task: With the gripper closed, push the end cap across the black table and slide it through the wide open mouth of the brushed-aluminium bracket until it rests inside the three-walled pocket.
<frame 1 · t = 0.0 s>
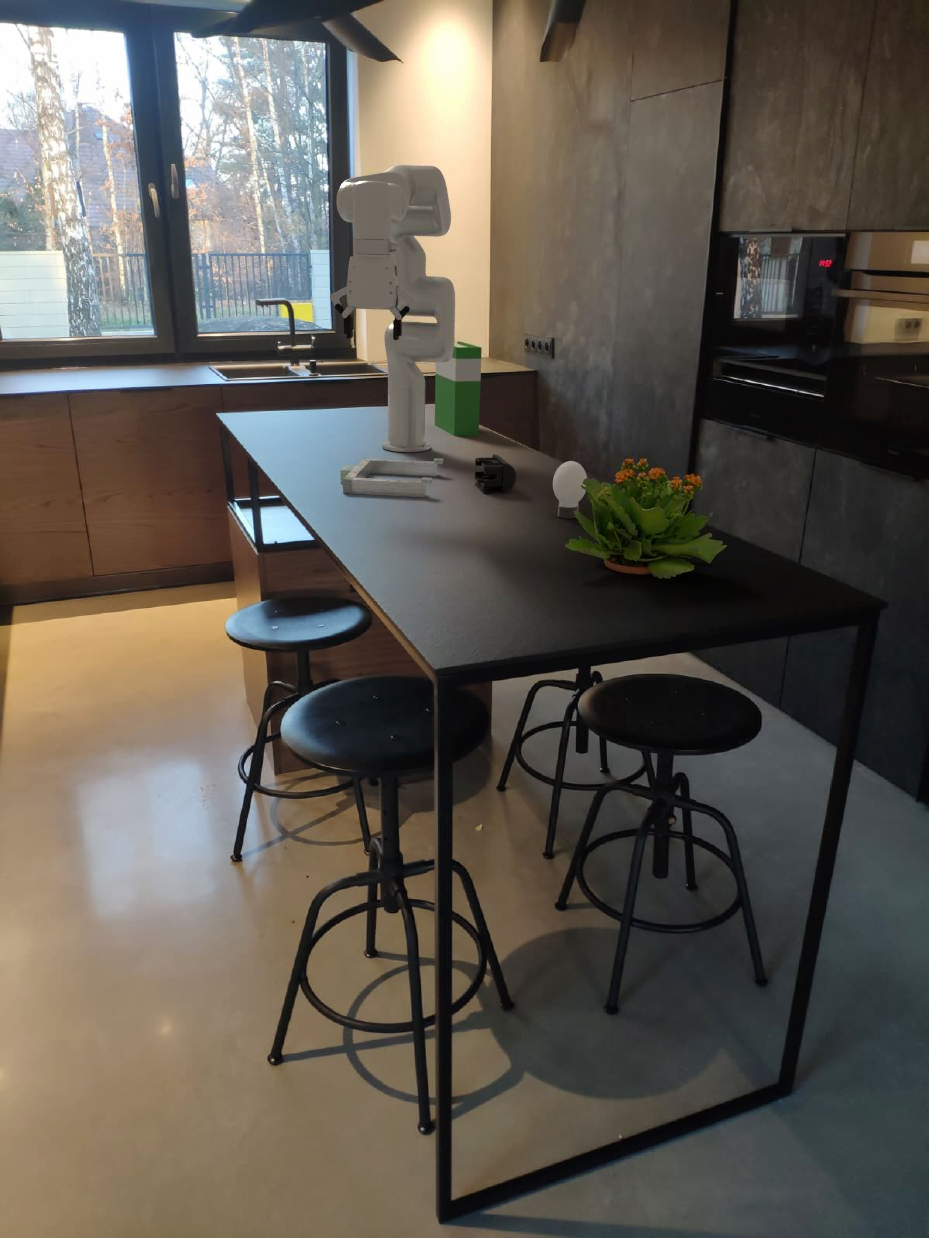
hand: (372, 339, 194), 31 cm above the table, tool pointing down, fingers open, 9 cm apart
light bulb: (567, 517, 188), on the table
end cap: (494, 490, 208), on the table
potted flower: (627, 566, 159), on the table
mounting bracket: (395, 483, 209), on the table
green white box: (456, 430, 274), on the table
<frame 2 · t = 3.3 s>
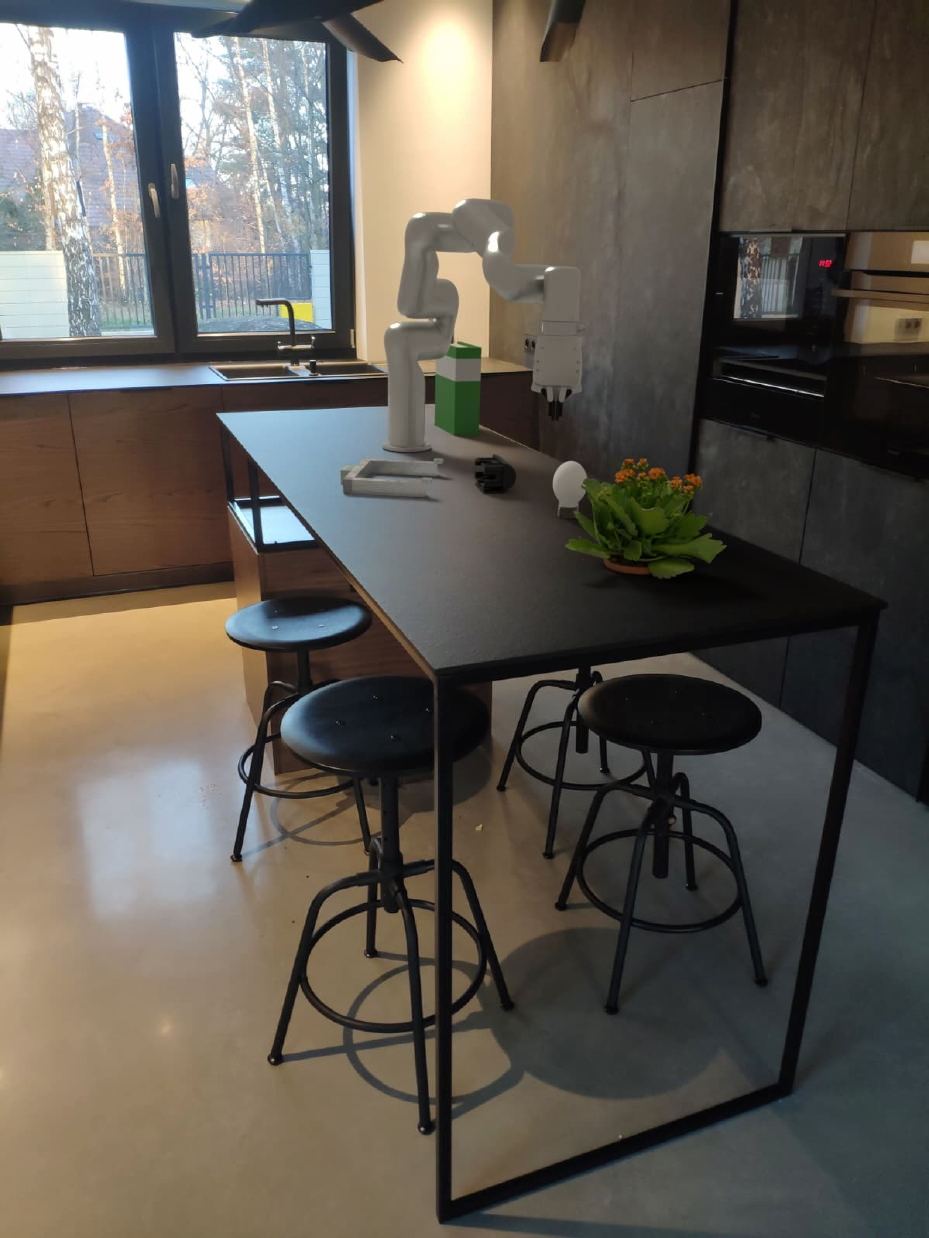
hand: (554, 420, 200), 16 cm above the table, tool pointing down, fingers closed
nothing on the table moved.
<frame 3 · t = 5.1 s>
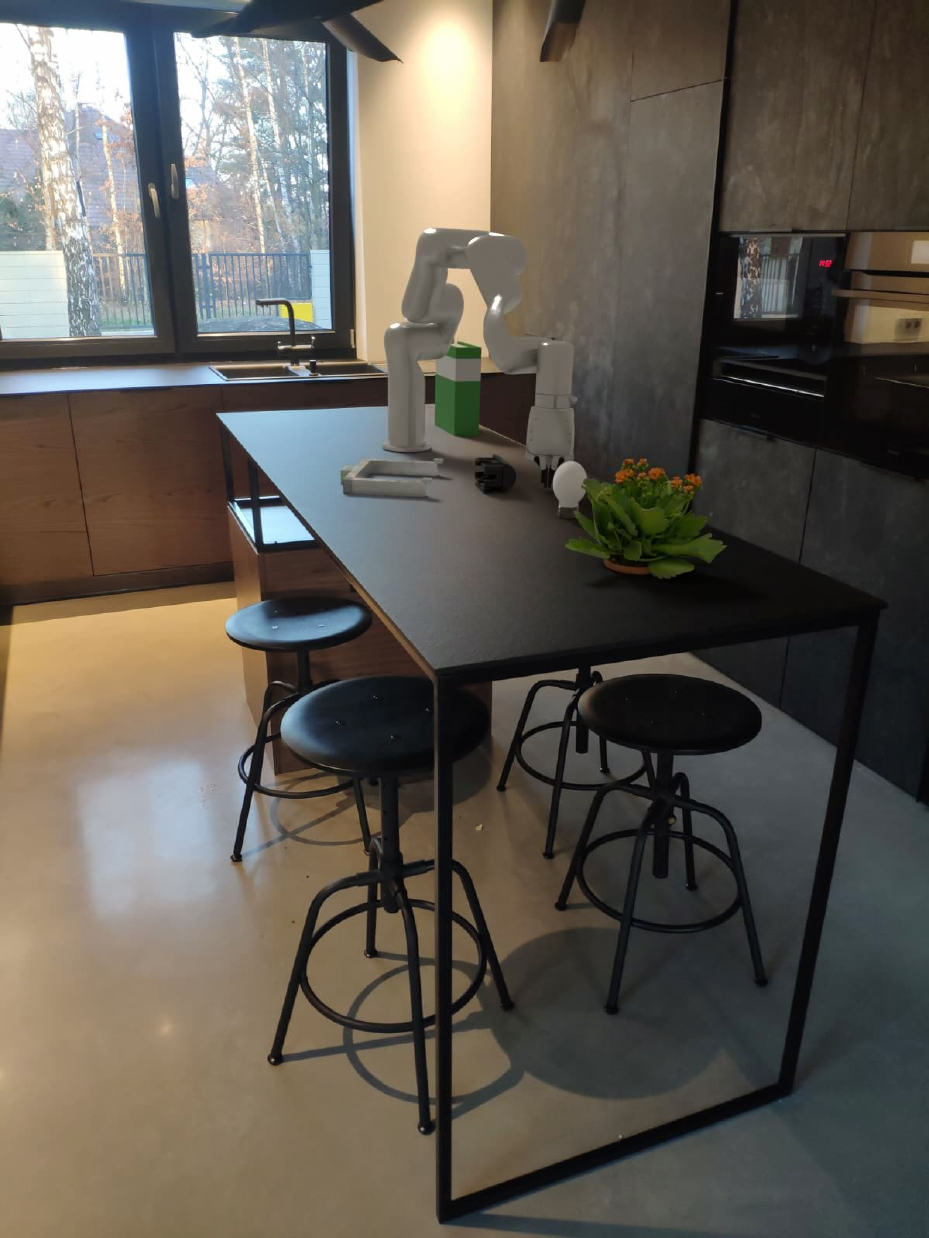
hand: (547, 486, 206), 1 cm above the table, tool pointing down, fingers closed
nothing on the table moved.
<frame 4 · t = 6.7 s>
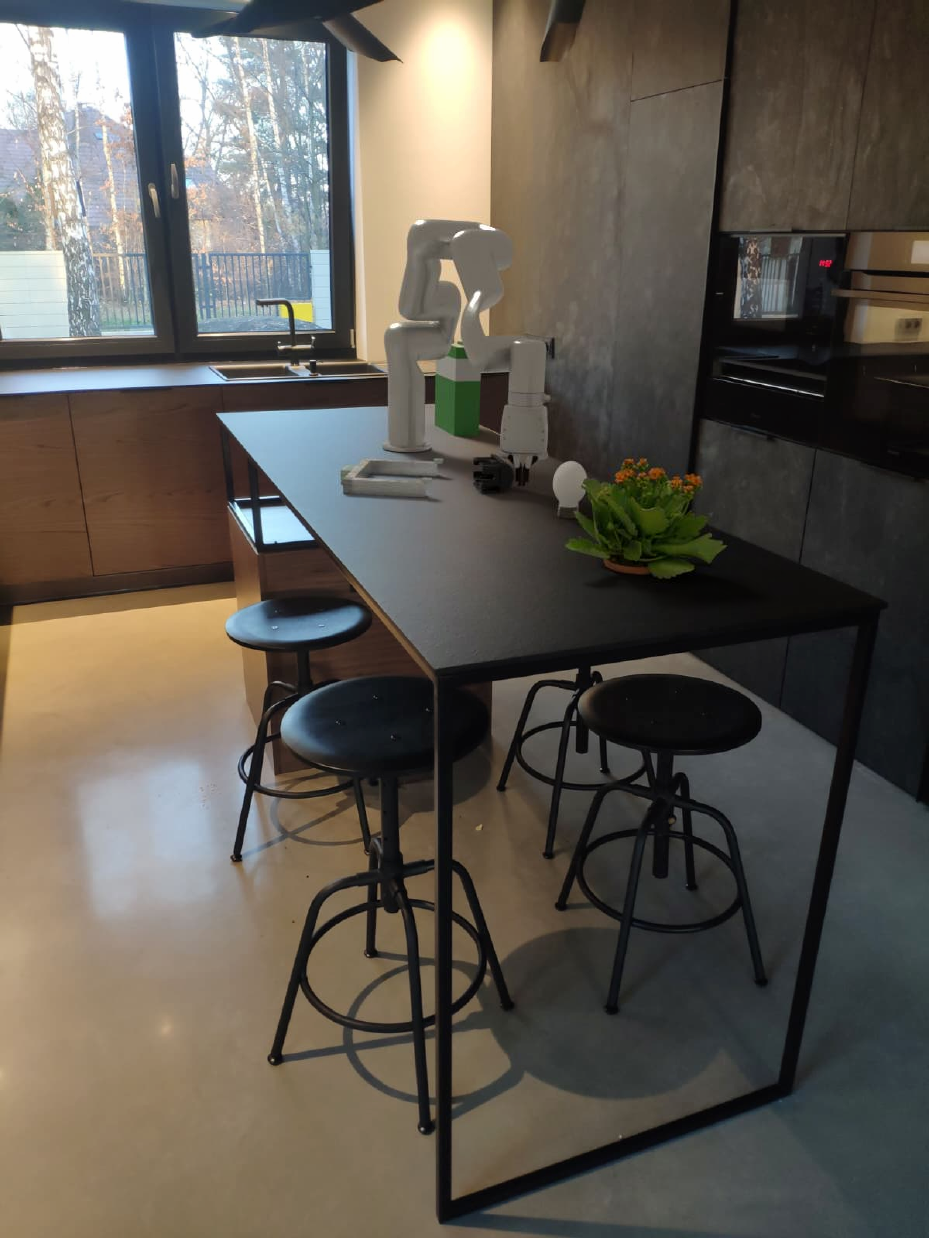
hand: (521, 484, 206), 1 cm above the table, tool pointing down, fingers closed
end cap: (492, 489, 207), on the table, touching gripper
everything else where it was.
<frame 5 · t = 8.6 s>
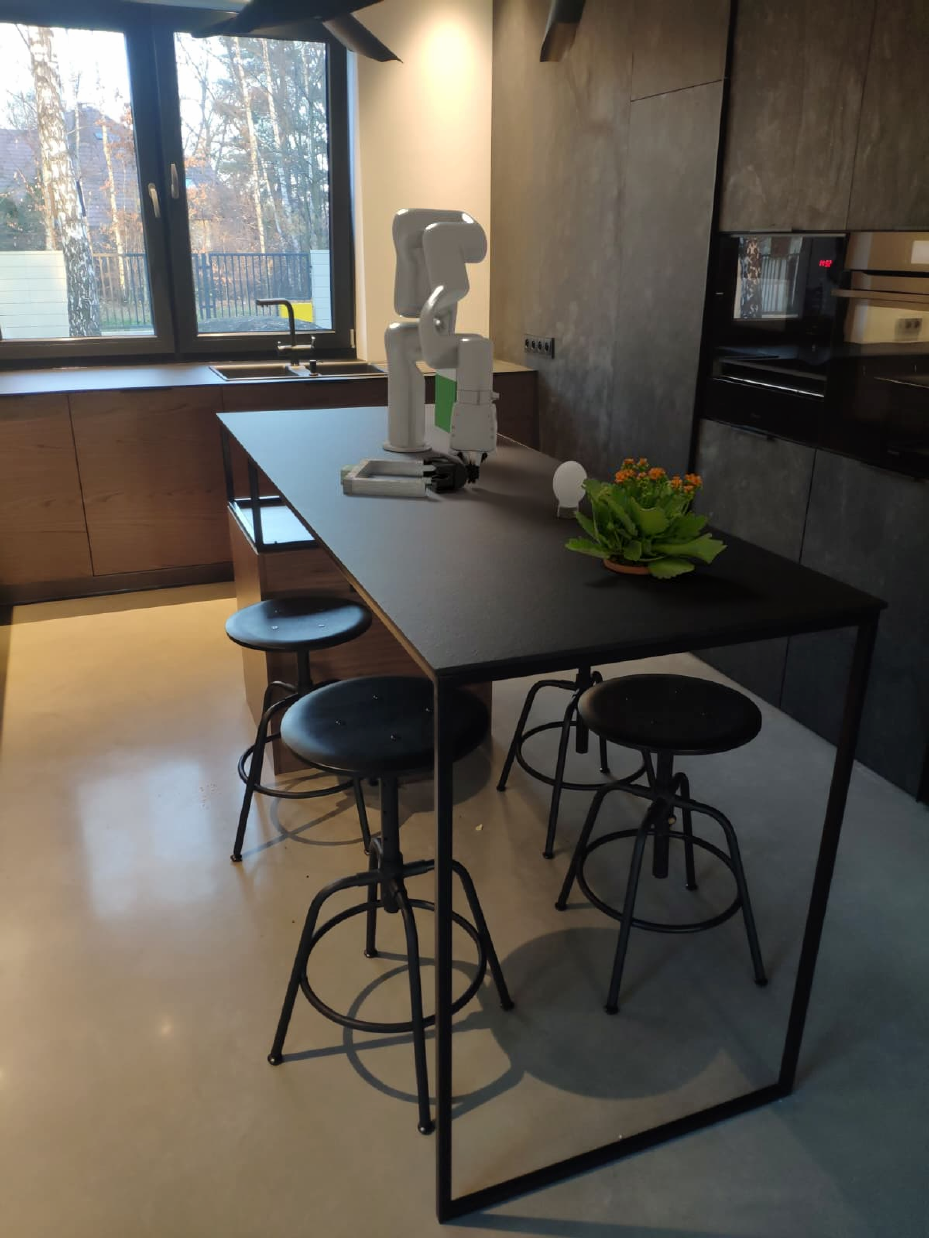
hand: (471, 482, 207), 1 cm above the table, tool pointing down, fingers closed
end cap: (444, 489, 207), on the table, touching gripper
everything else where it was.
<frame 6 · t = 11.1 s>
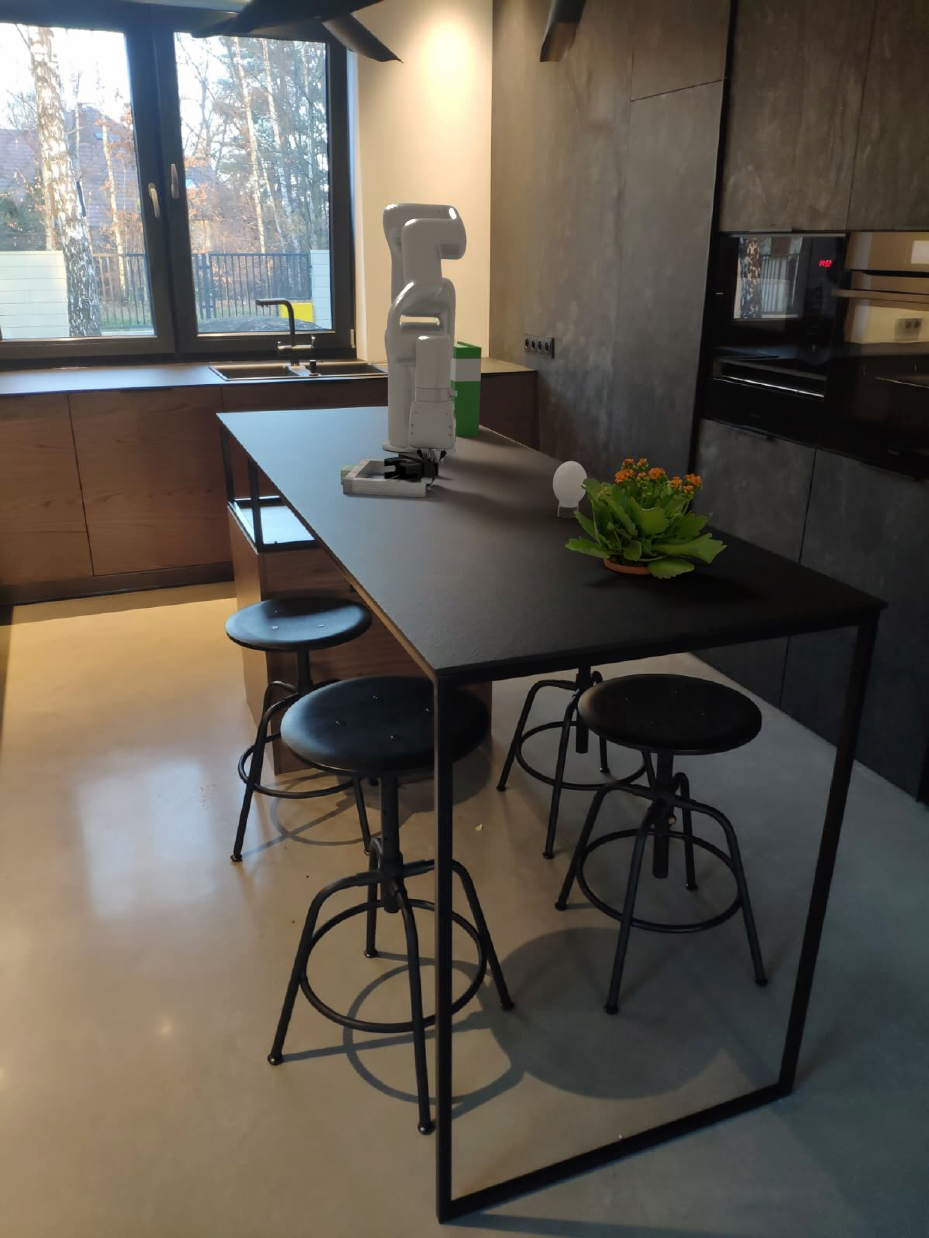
hand: (431, 479, 209), 1 cm above the table, tool pointing down, fingers closed
end cap: (409, 488, 206), on the table, touching gripper, mounting bracket
everything else where it was.
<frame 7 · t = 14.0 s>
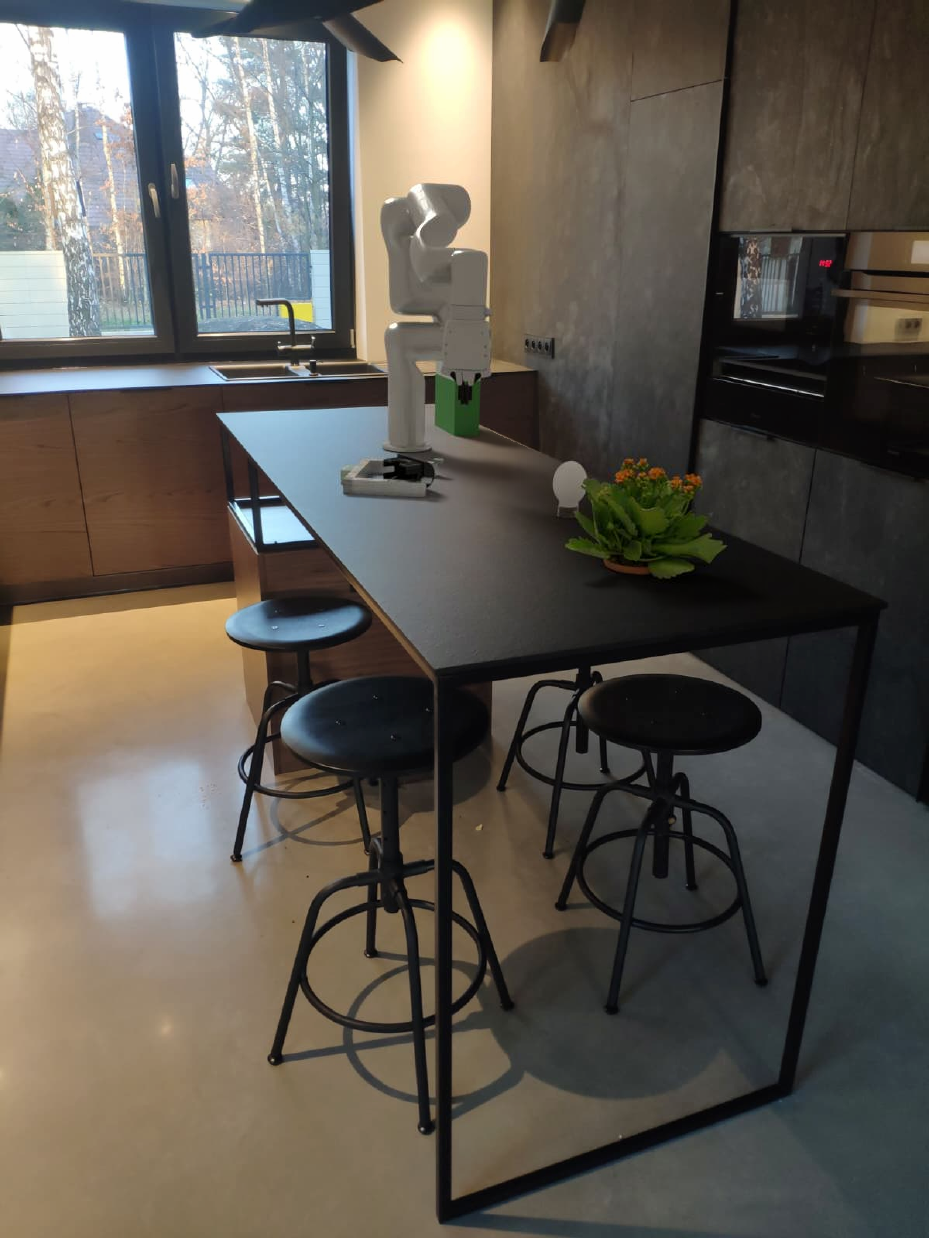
hand: (464, 403, 202), 18 cm above the table, tool pointing down, fingers closed
end cap: (408, 489, 206), on the table
everything else where it was.
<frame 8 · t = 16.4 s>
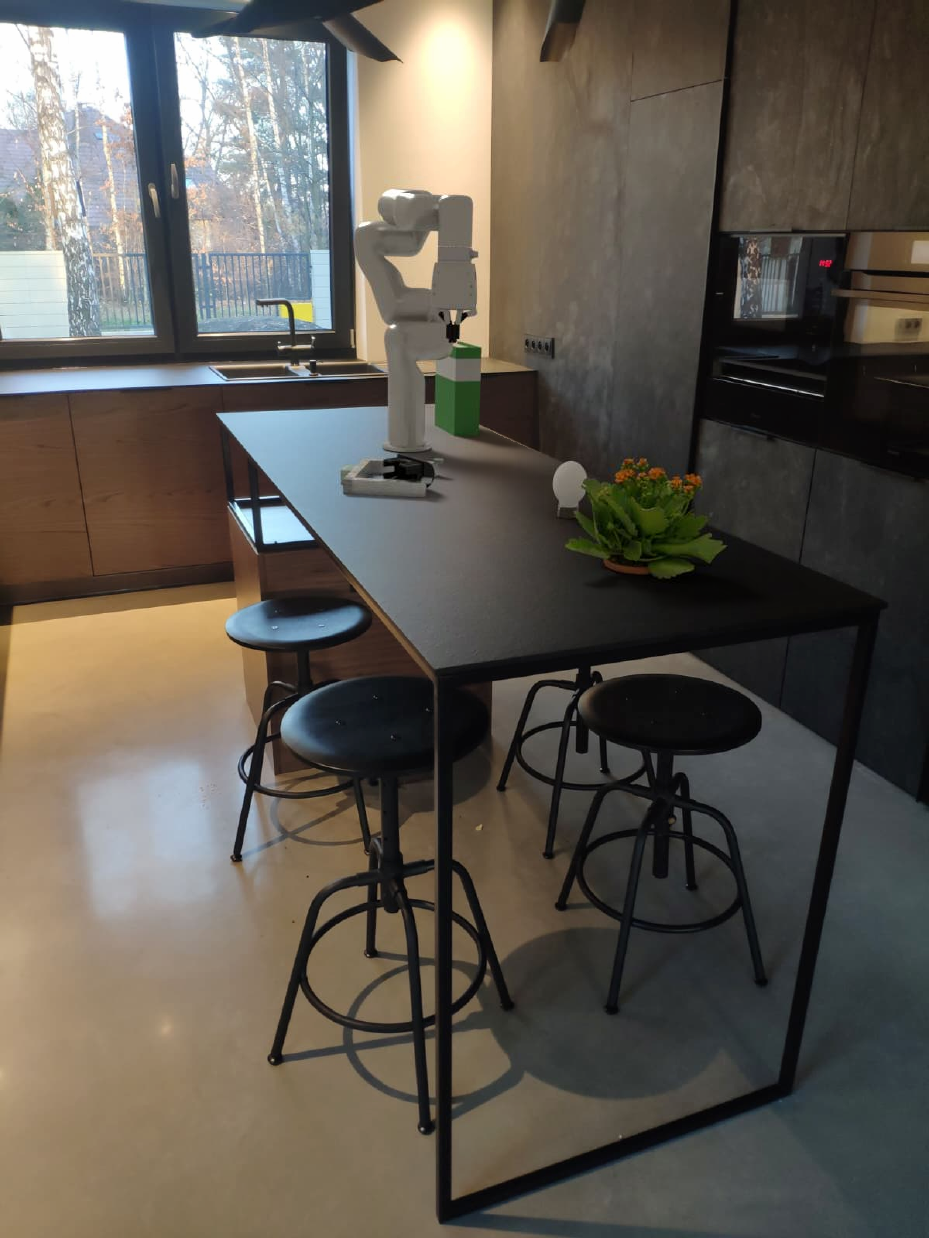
hand: (452, 342, 215), 29 cm above the table, tool pointing down, fingers closed
nothing on the table moved.
at the end: end cap inside the target area on the mounting bracket (5.0 cm from its centre), point 0.0 cm above the mounting bracket's base; end cap moved 19.0 cm from its start; the gripper is holding nothing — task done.
